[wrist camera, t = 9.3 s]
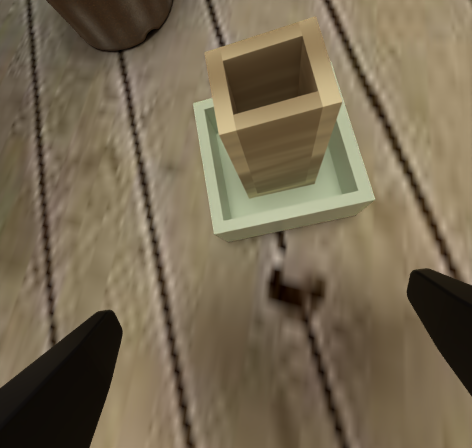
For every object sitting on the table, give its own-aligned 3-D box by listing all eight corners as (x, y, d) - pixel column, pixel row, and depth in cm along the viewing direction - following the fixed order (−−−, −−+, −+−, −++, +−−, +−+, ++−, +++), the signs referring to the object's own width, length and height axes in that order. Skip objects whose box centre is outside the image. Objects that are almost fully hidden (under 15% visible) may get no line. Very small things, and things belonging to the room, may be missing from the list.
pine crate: (314, 183, 20) (342, 101, 10) (249, 198, 21) (218, 134, 11) (301, 133, 21) (316, 16, 11) (239, 149, 22) (204, 52, 12)
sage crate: (355, 215, 20) (375, 199, 16) (228, 242, 22) (214, 234, 17) (322, 103, 22) (331, 62, 18) (209, 134, 24) (193, 103, 20)
